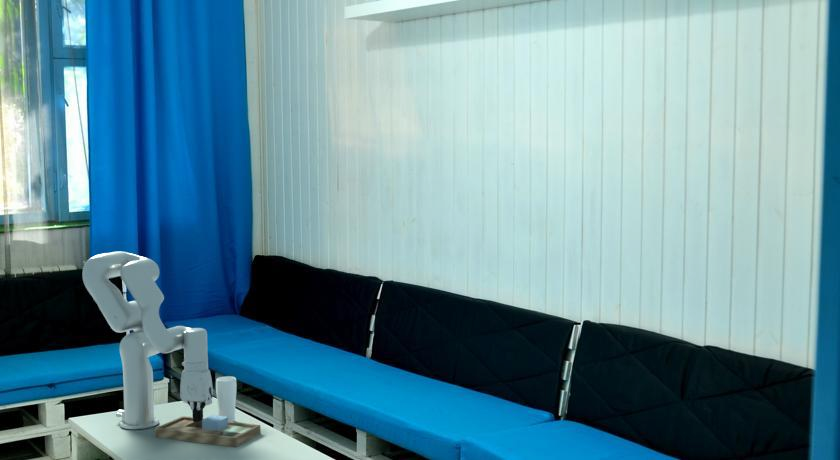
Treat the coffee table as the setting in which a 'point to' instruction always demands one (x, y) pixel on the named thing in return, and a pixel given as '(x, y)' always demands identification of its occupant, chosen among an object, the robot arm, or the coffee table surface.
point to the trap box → (207, 432)
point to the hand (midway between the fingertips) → (198, 420)
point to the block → (215, 422)
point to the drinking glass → (226, 396)
